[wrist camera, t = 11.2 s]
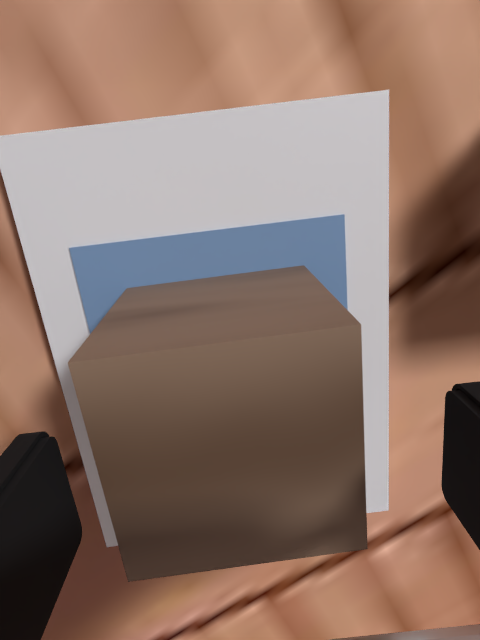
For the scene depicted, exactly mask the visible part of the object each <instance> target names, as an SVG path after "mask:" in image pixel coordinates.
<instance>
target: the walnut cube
mask: <svg viewBox="0 0 480 640" xmlns="http://www.w3.org/2000/svg"><path fill="white" fill-rule="evenodd" d="M68 366H69V370H70V373H71V377H72V381H73V384H74V388H75V391H76V395H77V399H78V402H79V406H80V409H81V413H82V417H83V420H84V424H85V427H86V431H87V435H88V438H89V442H90V445H91V449H92V453H93V456H94V460H95V464H96V467H97V471H98V474H99V478H100V482H101V485H102V489H103V492H104V496H105V500H106V503H107V507H108V510H109V514H110V518H111V521H112V525H113V528H114V532H115V536H116V539H117V543H118V546H119V550H120V554H121V557H122V561H123V564H124V568H125V572H126V575H127V579H128V582H130V581H137V580H144V579H152V578H159V577H166V576H174V575H181V574H188V573H196V572H203V571H210V570H217V569H225V568H232V567H239V566H247V565H254V564H261V563H269V562H276V561H283V560H291V559H298V558H305V557H312V556H320V555H327V554H334V553H342V552H349V551H356V550H364V549H367V518H366V481H365V445H364V409H363V372H362V336H361V324H360V323H359V322H358V321H357V319H356V318H355V317H354V316H353V315H352V314H351V313H350V312H349V311H348V310H347V309H346V308H345V307H344V306H343V305H342V304H341V303H340V302H339V301H338V300H337V299H336V298H335V297H334V296H333V295H332V294H331V293H330V292H329V291H328V290H327V289H326V288H325V287H324V285H323V284H322V283H321V282H320V281H319V280H318V279H317V278H316V277H315V276H314V275H313V274H312V273H311V272H310V271H309V270H308V269H307V268H306V267H305V266H304V265H302V266H294V267H286V268H279V269H271V270H263V271H255V272H248V273H240V274H232V275H224V276H217V277H209V278H201V279H194V280H186V281H178V282H170V283H163V284H155V285H147V286H139V287H132V288H126V290H125V291H124V292H123V294H122V295H121V296H120V297H119V299H118V300H117V301H116V302H115V304H114V305H113V306H112V307H111V309H110V310H109V311H108V312H107V314H106V315H105V316H104V317H103V319H102V320H101V321H100V322H99V324H98V325H97V326H96V328H95V329H94V330H93V331H92V333H91V334H90V335H89V336H88V338H87V339H86V340H85V341H84V343H83V344H82V345H81V346H80V348H79V349H78V350H77V351H76V353H75V354H74V355H73V357H72V358H71V359H70V360H69V362H68Z"/></svg>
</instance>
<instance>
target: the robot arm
mask: <svg viewBox="0 0 480 640" xmlns="http://www.w3.org/2000/svg"><path fill="white" fill-rule="evenodd" d="M442 491H443V494H444V497H445V499H446V501H447V503H448V504H449V506H450V507H451V509H452V510H453V511H454V513H455V514H456V516H457V517H458V519H459V520H460V522H461V523H462V525H463V526H464V528H465V529H466V531H467V532H468V533H469V535H470V536H471V538H472V539H473V541H474V542H475V544H476V545H477V547H478V548H479V550H480V382H471V383H462V384H455V385H454V386H453V388H452V391H448V392H447V393H446V397H445V418H444V441H443V465H442ZM81 537H82V526H81V522H80V519H79V515H78V512H77V508H76V505H75V502H74V498H73V495H72V491H71V488H70V484H69V481H68V478H67V474H66V471H65V467H64V464H63V460H62V457H61V454H60V450H59V447H58V443H57V441H56V439H55V438H54V437H49V435H48V434H47V433H46V432H35V433H27V434H20V435H18V436H17V437H16V438H15V439H14V440H13V442H12V443H11V444H10V445H9V446H8V448H7V449H6V450H5V451H4V453H3V454H2V455H1V456H0V640H41V637H42V635H43V632H44V630H45V628H46V625H47V623H48V620H49V618H50V615H51V613H52V610H53V608H54V605H55V603H56V601H57V598H58V596H59V593H60V591H61V588H62V586H63V583H64V581H65V579H66V576H67V574H68V571H69V569H70V566H71V564H72V561H73V559H74V556H75V554H76V552H77V549H78V547H79V544H80V541H81ZM331 640H480V624H476V625H466V626H457V627H447V628H437V629H427V630H418V631H408V632H398V633H388V634H379V635H369V636H359V637H350V638H340V639H331Z"/></svg>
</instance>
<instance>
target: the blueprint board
mask: <svg viewBox="0 0 480 640" xmlns="http://www.w3.org/2000/svg"><path fill="white" fill-rule="evenodd" d="M0 170H1V173H2V177H3V180H4V184H5V188H6V191H7V195H8V198H9V202H10V205H11V209H12V212H13V216H14V220H15V223H16V227H17V230H18V234H19V237H20V241H21V244H22V248H23V251H24V255H25V259H26V262H27V266H28V269H29V273H30V276H31V280H32V283H33V287H34V291H35V294H36V298H37V301H38V305H39V308H40V312H41V315H42V319H43V322H44V326H45V330H46V333H47V337H48V340H49V344H50V347H51V351H52V354H53V358H54V362H55V365H56V369H57V372H58V376H59V379H60V383H61V386H62V390H63V393H64V397H65V401H66V404H67V408H68V411H69V415H70V418H71V422H72V425H73V429H74V433H75V436H76V440H77V443H78V447H79V450H80V454H81V457H82V461H83V464H84V468H85V472H86V475H87V479H88V482H89V486H90V489H91V493H92V496H93V500H94V504H95V507H96V511H97V514H98V518H99V521H100V525H101V528H102V532H103V535H104V539H105V543H106V546H107V547H112V546H118V543H117V539H116V536H115V532H114V528H113V525H112V521H111V518H110V514H109V510H108V507H107V503H106V500H105V496H104V492H103V489H102V485H101V482H100V478H99V474H98V471H97V467H96V464H95V460H94V456H93V453H92V449H91V445H90V442H89V438H88V435H87V431H86V427H85V424H84V420H83V417H82V413H81V409H80V406H79V402H78V399H77V395H76V391H75V388H74V384H73V381H72V377H71V373H70V370H69V366H68V362H69V360H70V359H71V358H72V357H73V355H74V354H75V353H76V351H77V350H78V349H79V348H80V346H81V345H82V344H83V343H84V341H85V340H86V339H87V338H88V336H89V335H90V334H91V333H92V331H93V330H94V329H95V328H96V326H97V325H98V324H99V322H100V321H101V320H102V319H103V317H104V316H105V315H106V314H107V312H108V311H109V310H110V309H111V307H112V306H113V305H114V304H115V302H116V301H117V300H118V299H119V297H120V296H121V295H122V294H123V292H124V291H125V290H126V288H132V287H139V286H147V285H155V284H163V283H170V282H178V281H186V280H194V279H201V278H209V277H217V276H224V275H232V274H240V273H248V272H255V271H263V270H271V269H279V268H286V267H294V266H302V265H304V266H305V267H306V268H307V269H308V270H309V271H310V272H311V273H312V274H313V275H314V276H315V277H316V278H317V279H318V280H319V281H320V282H321V283H322V284H323V285H324V287H325V288H326V289H327V290H328V291H329V292H330V293H331V294H332V295H333V296H334V297H335V298H336V299H337V300H338V301H339V302H340V303H341V304H342V305H343V306H344V307H345V308H346V309H347V310H348V311H349V312H350V313H351V314H352V315H353V316H354V317H355V318H356V319H357V321H358V322H359V323H360V324H361V336H362V372H363V409H364V445H365V481H366V513H371V512H379V511H387V510H389V90H383V91H375V92H366V93H358V94H349V95H341V96H332V97H324V98H316V99H307V100H299V101H290V102H282V103H273V104H265V105H256V106H248V107H240V108H231V109H223V110H214V111H206V112H197V113H189V114H181V115H172V116H164V117H155V118H147V119H138V120H130V121H121V122H113V123H105V124H96V125H88V126H79V127H71V128H62V129H54V130H46V131H37V132H29V133H20V134H12V135H3V136H0Z"/></svg>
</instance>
